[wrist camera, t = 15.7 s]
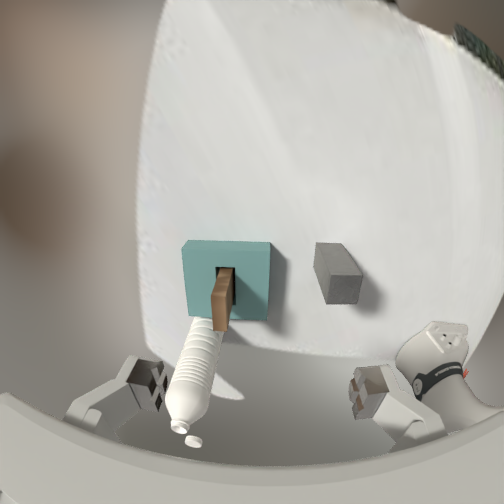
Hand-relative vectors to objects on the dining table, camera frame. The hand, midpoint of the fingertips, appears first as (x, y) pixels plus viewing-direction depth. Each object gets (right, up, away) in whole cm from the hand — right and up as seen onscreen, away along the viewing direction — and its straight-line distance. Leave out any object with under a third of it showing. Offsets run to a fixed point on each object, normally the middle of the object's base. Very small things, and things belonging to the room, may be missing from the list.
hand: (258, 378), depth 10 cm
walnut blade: (-4, +1, +38) cm, 38 cm away
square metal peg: (+13, +5, +35) cm, 38 cm away
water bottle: (-8, -10, +43) cm, 45 cm away
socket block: (-4, +1, +38) cm, 38 cm away
